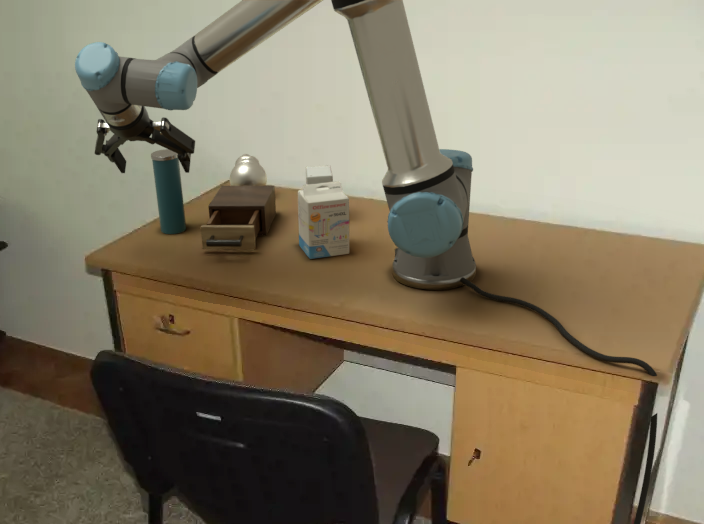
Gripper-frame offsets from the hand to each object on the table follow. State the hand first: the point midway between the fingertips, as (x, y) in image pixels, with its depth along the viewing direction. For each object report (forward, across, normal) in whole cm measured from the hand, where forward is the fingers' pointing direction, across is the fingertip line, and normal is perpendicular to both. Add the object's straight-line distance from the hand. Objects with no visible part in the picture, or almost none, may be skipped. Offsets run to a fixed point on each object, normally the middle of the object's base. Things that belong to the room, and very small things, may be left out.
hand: (155, 167), depth 179 cm
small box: (+23, +31, 0) cm, 39 cm away
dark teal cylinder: (+17, 0, -6) cm, 18 cm away
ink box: (+10, +34, -14) cm, 38 cm away
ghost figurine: (+33, +13, +9) cm, 36 cm away
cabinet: (+20, +15, -4) cm, 25 cm away
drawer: (+10, +15, -12) cm, 22 cm away
